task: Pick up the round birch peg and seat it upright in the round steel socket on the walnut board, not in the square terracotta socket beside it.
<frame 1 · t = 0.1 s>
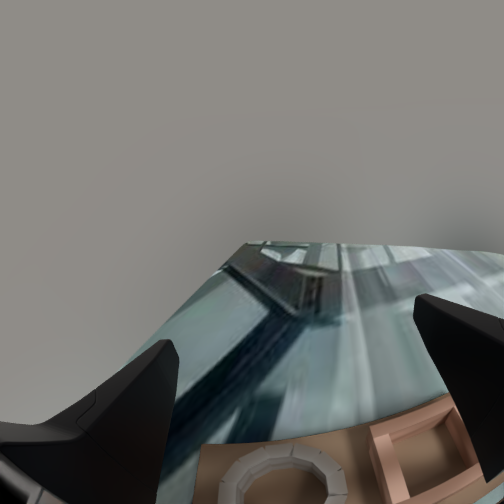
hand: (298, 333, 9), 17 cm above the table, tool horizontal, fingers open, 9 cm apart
socket board: (351, 491, 13), on the table
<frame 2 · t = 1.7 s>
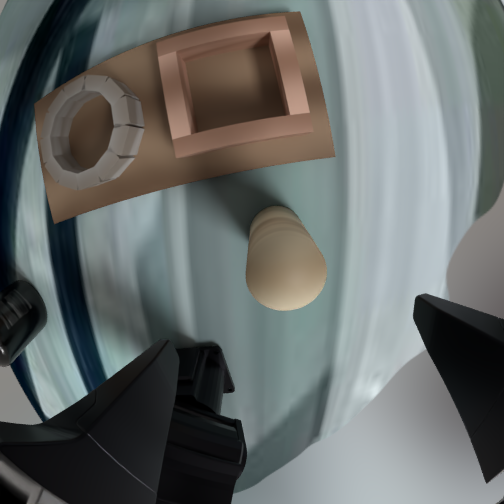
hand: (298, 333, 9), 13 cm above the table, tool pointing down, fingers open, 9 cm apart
socket board: (158, 112, 18), on the table
supplement bottle: (31, 303, 24), on the table
round peg: (276, 231, 21), on the table
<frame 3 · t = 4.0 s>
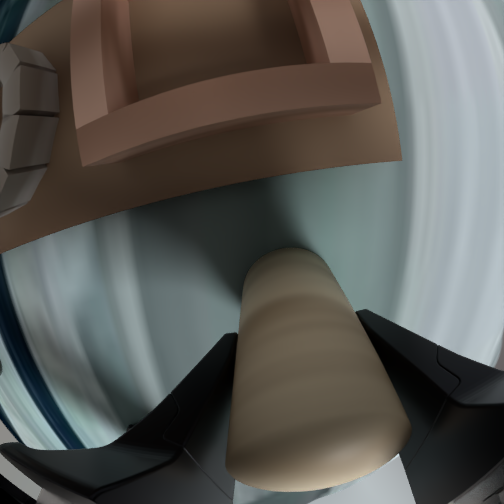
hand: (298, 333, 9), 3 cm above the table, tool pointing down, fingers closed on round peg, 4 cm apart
socket board: (86, 88, 9), on the table
round peg: (289, 291, 12), on the table, touching gripper
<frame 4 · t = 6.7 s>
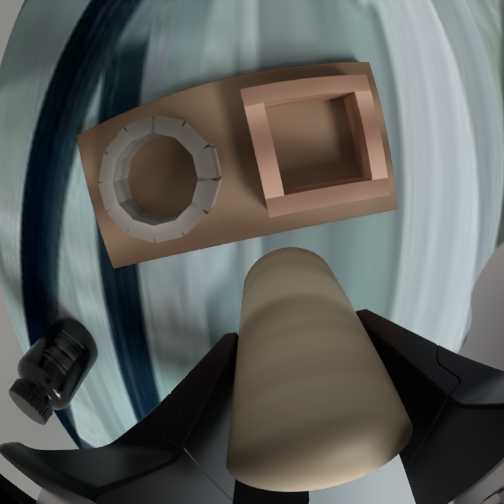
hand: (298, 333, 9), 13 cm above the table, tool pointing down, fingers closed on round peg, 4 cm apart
socket board: (231, 158, 19), on the table
supplement bottle: (77, 339, 26), on the table
round peg: (289, 291, 12), point 10 cm above the table, touching gripper
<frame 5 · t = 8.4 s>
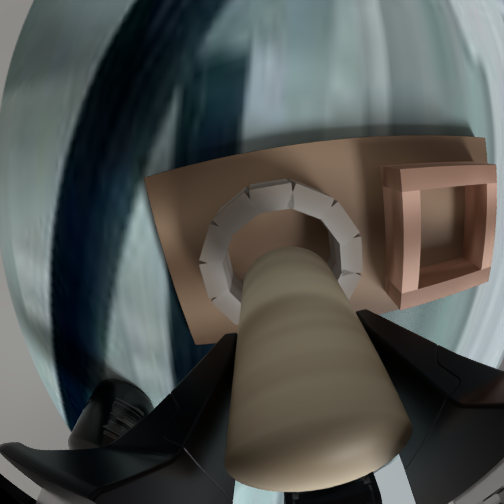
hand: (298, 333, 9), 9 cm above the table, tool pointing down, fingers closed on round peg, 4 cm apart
socket board: (353, 232, 17), on the table
supplement bottle: (126, 397, 24), on the table
round peg: (289, 290, 12), point 6 cm above the table, touching gripper
when the fingers open (5 cm above the table, at t = 9.9 s): round peg drops 1 cm, resting on socket board.
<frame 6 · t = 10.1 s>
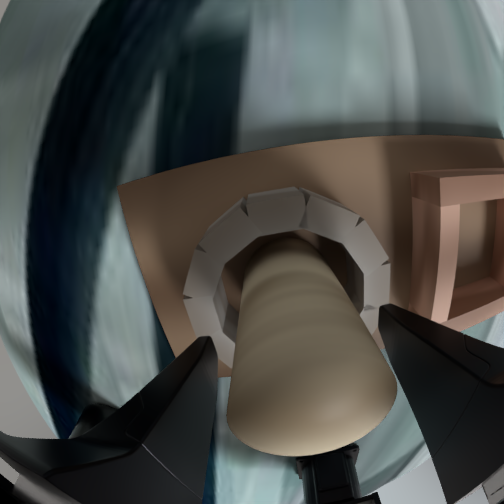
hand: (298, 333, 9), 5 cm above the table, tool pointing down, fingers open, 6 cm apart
socket board: (374, 251, 14), on the table
supplement bottle: (116, 421, 20), on the table
round peg: (286, 278, 13), point 1 cm above the table, touching socket board
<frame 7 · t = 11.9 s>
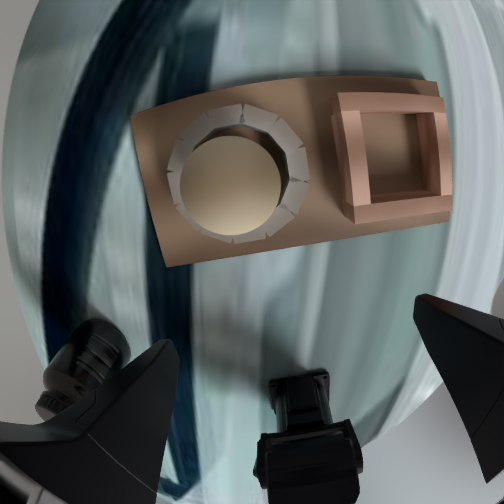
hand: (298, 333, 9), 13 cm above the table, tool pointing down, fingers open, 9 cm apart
socket board: (309, 159, 19), on the table
supplement bottle: (106, 341, 26), on the table
round peg: (240, 171, 18), point 1 cm above the table, touching socket board
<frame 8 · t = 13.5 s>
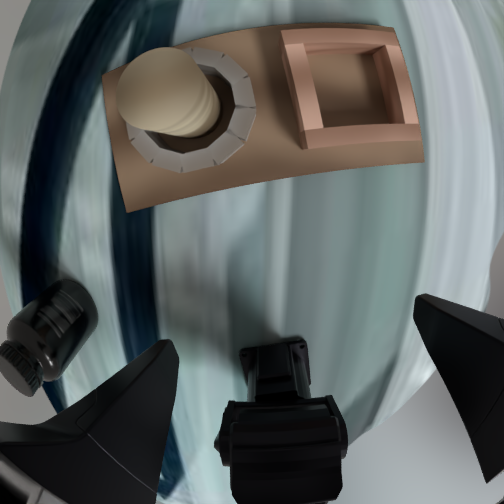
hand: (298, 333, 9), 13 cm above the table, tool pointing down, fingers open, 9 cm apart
socket board: (264, 100, 18), on the table
supplement bottle: (76, 305, 24), on the table
round peg: (194, 112, 17), point 1 cm above the table, touching socket board
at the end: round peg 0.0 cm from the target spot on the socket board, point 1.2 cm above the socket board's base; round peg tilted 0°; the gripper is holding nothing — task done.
